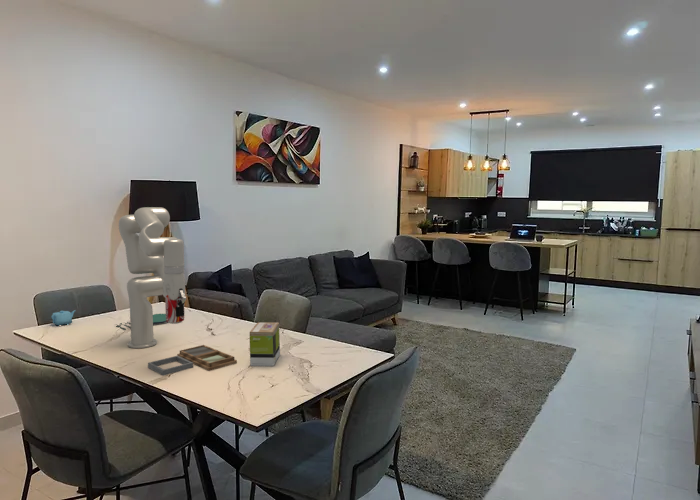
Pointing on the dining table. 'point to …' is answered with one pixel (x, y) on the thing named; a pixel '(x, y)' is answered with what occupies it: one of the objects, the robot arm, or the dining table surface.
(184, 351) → the two-pane wooden frame
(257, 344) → the tea box
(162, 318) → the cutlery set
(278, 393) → the dining table surface
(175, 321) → the soda can
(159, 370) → the holder frame
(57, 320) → the teapot
